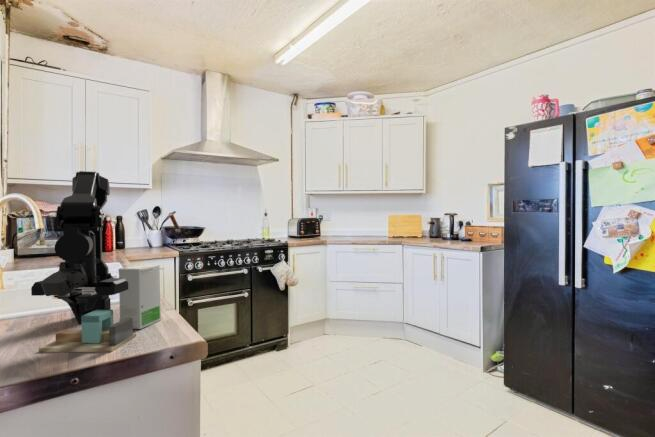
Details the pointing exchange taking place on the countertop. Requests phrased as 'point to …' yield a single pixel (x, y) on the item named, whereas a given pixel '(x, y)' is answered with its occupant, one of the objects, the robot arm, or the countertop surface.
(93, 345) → the board
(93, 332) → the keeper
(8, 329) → the countertop surface
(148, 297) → the skincare box
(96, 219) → the robot arm
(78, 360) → the countertop surface
